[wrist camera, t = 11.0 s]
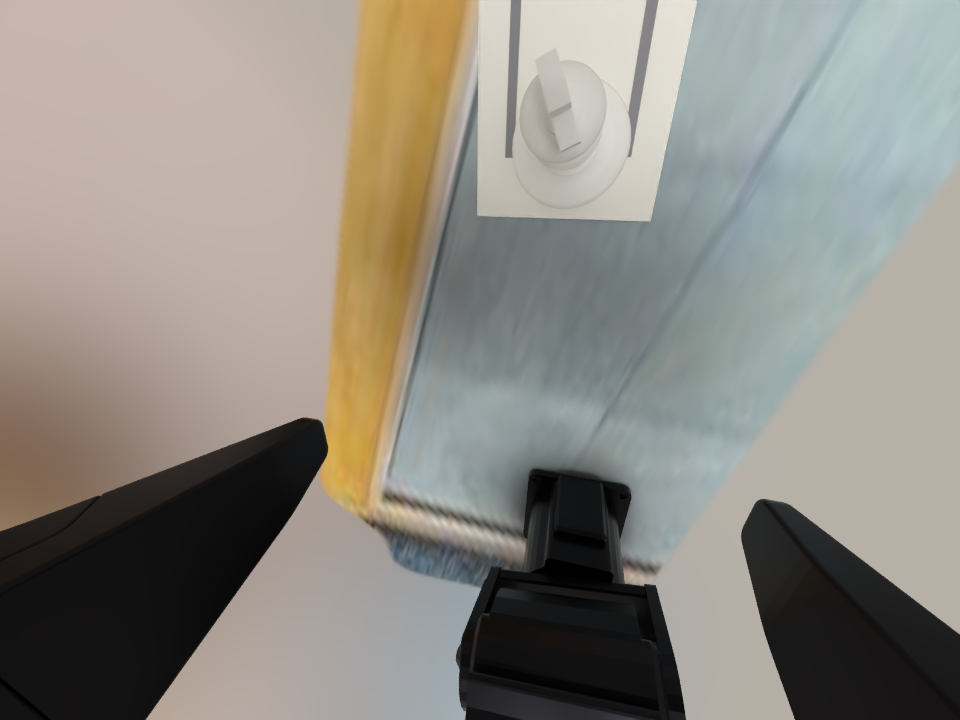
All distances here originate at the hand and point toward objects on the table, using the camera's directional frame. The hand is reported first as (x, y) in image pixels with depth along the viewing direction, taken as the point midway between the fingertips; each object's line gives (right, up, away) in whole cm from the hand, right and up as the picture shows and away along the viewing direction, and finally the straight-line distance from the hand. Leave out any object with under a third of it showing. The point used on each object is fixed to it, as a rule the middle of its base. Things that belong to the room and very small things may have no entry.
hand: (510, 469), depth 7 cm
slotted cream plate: (+3, +14, +7) cm, 16 cm away
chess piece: (+3, +12, +8) cm, 14 cm away
